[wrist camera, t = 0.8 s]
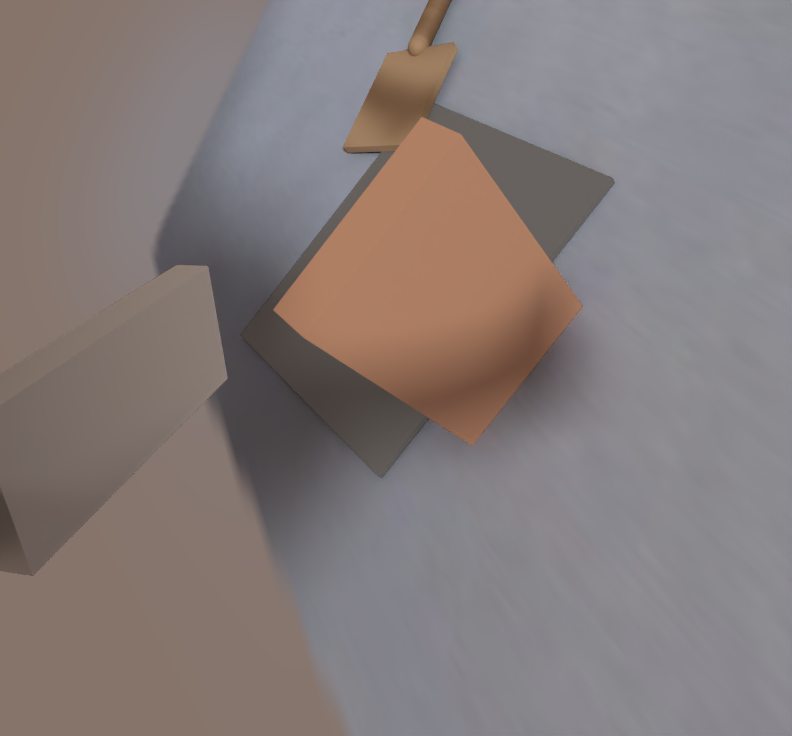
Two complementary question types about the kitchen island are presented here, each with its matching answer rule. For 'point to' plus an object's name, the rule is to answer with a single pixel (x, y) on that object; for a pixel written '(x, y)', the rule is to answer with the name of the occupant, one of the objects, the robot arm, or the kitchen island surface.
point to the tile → (434, 286)
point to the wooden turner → (404, 87)
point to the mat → (267, 332)
